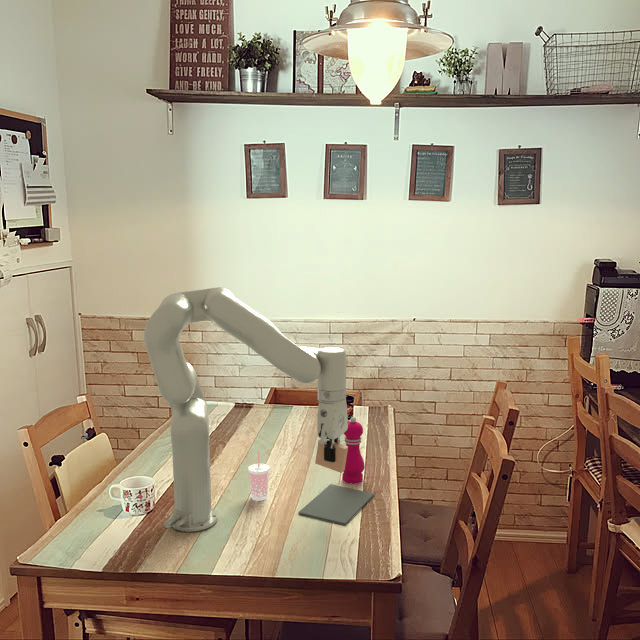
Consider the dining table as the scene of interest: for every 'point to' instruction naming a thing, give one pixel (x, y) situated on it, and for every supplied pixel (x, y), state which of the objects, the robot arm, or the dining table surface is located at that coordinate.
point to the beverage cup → (258, 480)
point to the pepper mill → (353, 453)
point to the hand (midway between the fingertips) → (331, 459)
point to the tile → (339, 457)
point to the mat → (336, 504)
